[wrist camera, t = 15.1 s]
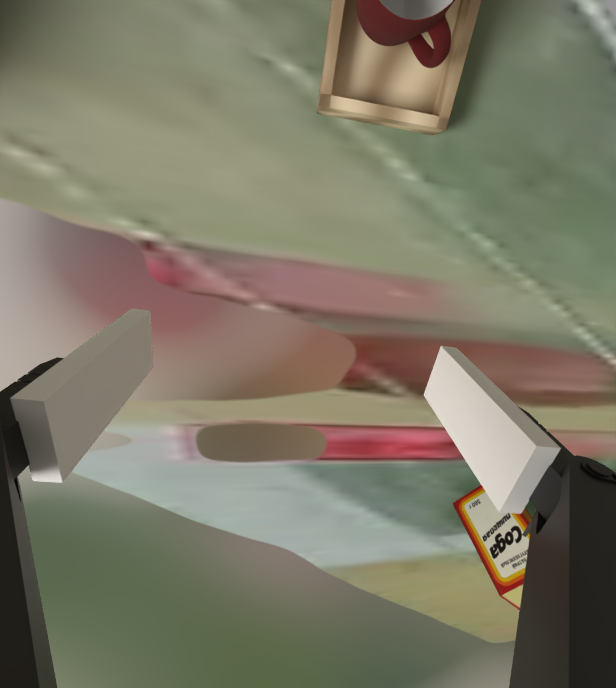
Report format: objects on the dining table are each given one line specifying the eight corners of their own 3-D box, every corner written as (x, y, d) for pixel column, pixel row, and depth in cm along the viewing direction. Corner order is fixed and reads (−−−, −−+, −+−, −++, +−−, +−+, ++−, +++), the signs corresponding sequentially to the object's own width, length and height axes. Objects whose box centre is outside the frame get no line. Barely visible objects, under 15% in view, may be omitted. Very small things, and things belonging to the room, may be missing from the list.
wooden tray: (316, 113, 35) (319, 105, 32) (346, -108, 28) (352, -145, 25) (432, 135, 36) (445, 129, 33) (486, -71, 30) (509, -102, 26)
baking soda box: (471, 519, 64) (524, 615, 50) (452, 503, 62) (501, 599, 47) (514, 493, 61) (582, 586, 47) (495, 476, 59) (561, 568, 45)
